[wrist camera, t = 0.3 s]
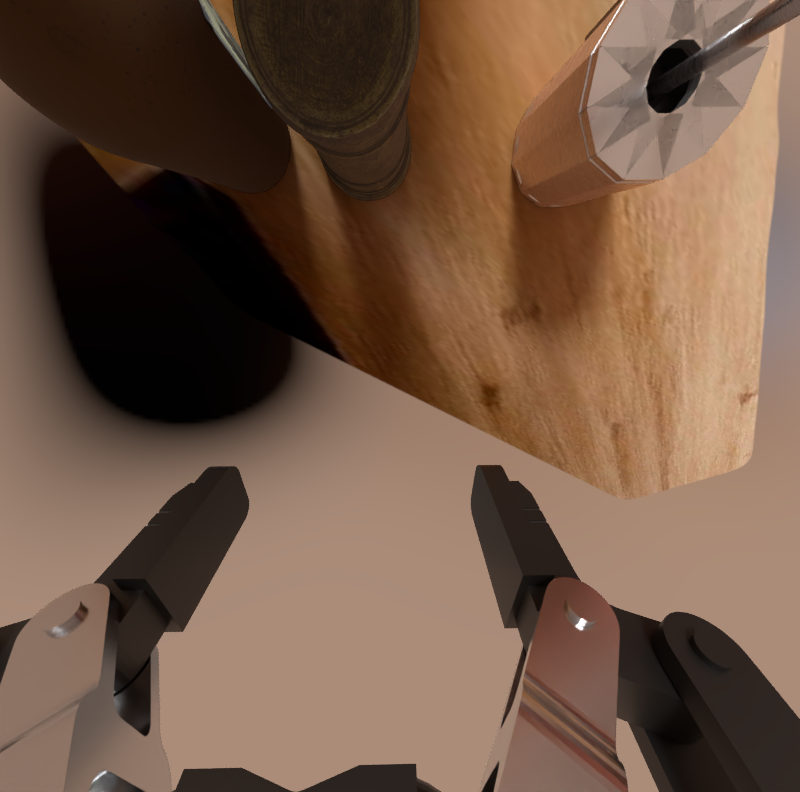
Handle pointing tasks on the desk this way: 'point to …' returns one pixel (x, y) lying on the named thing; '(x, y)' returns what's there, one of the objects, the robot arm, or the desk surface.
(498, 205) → the desk surface
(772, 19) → the plunger
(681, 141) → the press carafe
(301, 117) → the container
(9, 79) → the olive oil
